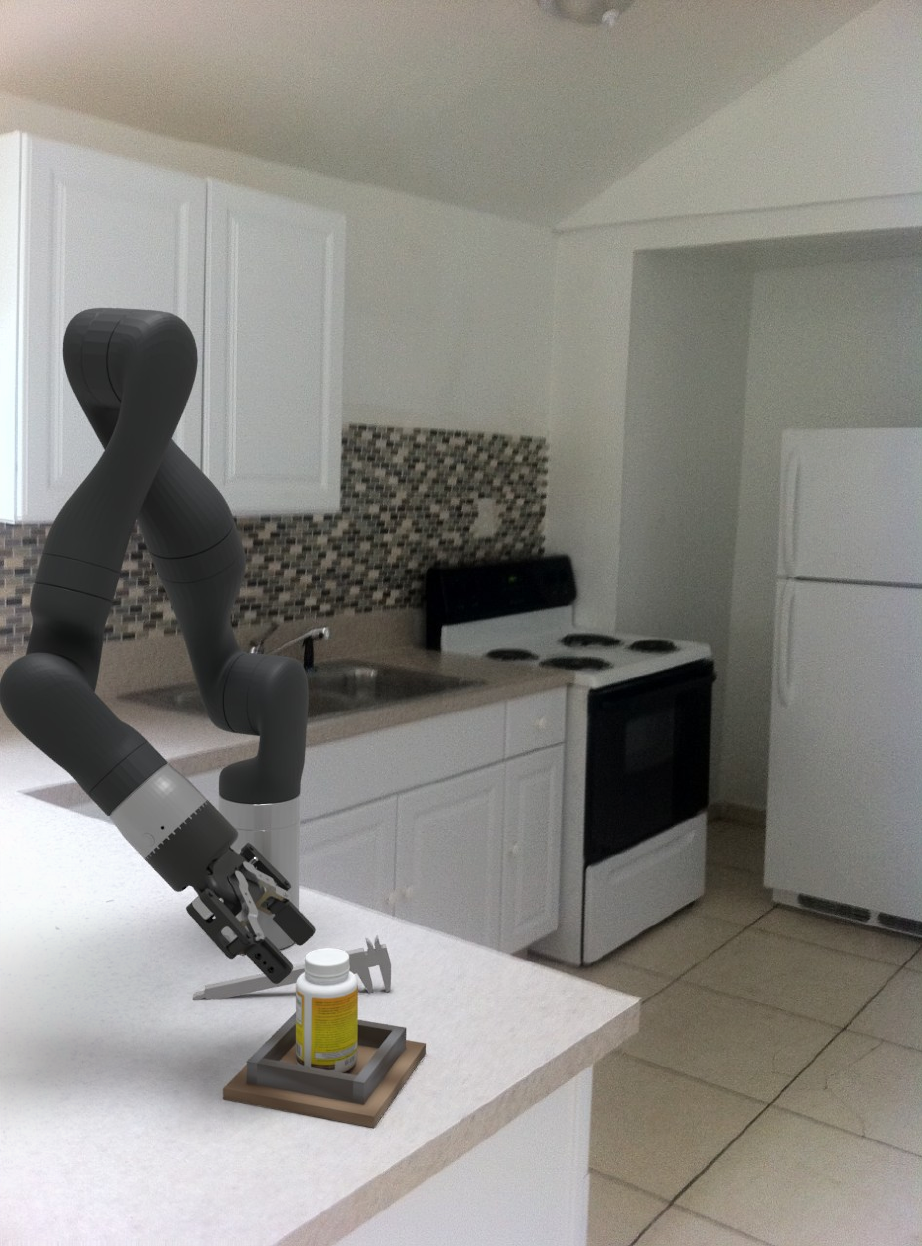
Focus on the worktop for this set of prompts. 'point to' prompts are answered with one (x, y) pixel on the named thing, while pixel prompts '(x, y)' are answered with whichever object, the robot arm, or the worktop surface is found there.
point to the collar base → (329, 1076)
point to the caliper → (258, 982)
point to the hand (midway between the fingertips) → (297, 957)
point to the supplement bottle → (327, 1012)
